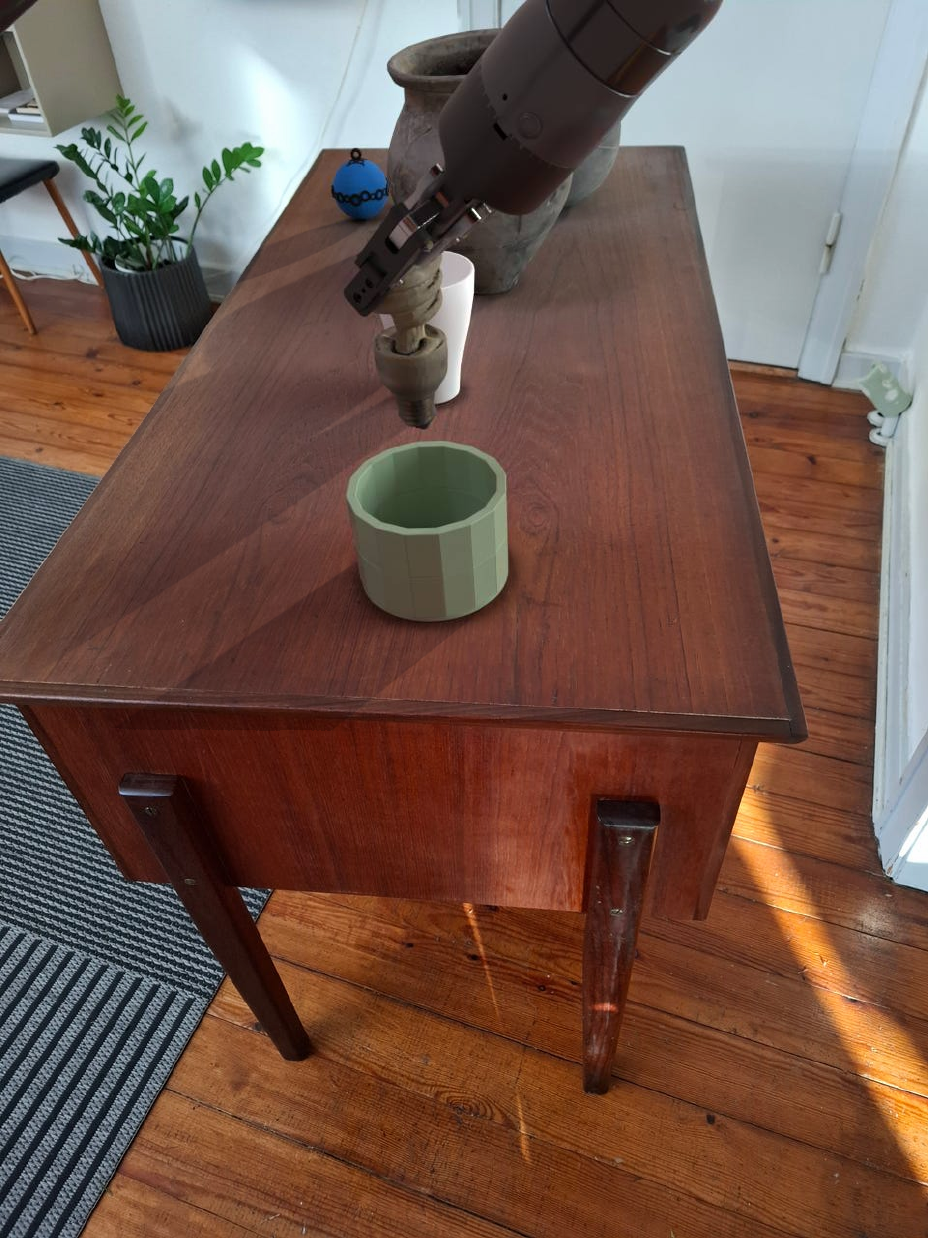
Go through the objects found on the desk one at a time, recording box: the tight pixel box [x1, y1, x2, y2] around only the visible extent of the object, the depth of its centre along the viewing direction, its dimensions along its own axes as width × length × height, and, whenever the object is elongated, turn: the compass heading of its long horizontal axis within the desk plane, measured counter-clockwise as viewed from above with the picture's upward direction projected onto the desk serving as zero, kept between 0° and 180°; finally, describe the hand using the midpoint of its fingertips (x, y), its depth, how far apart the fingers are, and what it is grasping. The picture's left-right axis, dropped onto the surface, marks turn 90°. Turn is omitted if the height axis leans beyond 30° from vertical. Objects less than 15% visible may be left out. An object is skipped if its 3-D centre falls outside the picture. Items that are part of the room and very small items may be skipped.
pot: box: [345, 440, 509, 623], centre depth 74 cm, size 13×13×9 cm
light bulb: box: [365, 225, 448, 430], centre depth 62 cm, size 6×6×15 cm
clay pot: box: [386, 27, 574, 296], centre depth 107 cm, size 23×25×30 cm
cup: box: [379, 251, 475, 405], centre depth 94 cm, size 10×10×14 cm
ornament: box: [330, 147, 390, 221], centre depth 135 cm, size 9×9×10 cm
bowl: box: [562, 121, 622, 209], centre depth 134 cm, size 21×21×15 cm
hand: (381, 285), depth 60 cm, fingers closed on light bulb, 5 cm apart
